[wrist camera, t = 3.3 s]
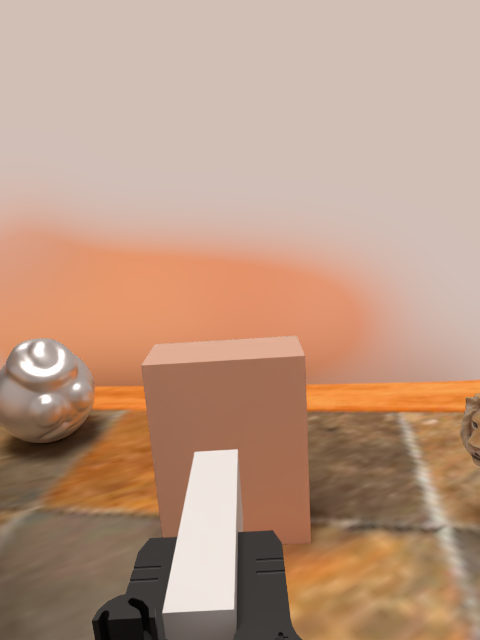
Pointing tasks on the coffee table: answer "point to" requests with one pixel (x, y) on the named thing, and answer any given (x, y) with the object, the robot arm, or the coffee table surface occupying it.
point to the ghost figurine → (44, 391)
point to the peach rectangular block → (233, 426)
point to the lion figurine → (472, 427)
